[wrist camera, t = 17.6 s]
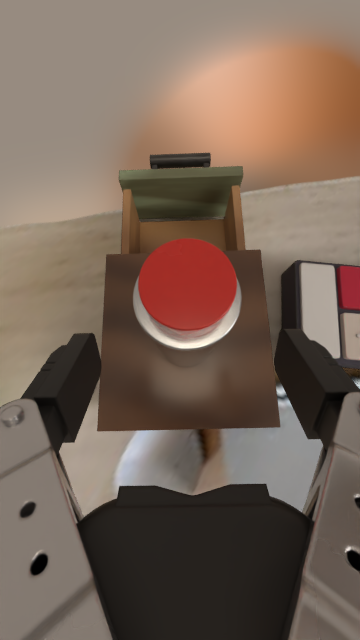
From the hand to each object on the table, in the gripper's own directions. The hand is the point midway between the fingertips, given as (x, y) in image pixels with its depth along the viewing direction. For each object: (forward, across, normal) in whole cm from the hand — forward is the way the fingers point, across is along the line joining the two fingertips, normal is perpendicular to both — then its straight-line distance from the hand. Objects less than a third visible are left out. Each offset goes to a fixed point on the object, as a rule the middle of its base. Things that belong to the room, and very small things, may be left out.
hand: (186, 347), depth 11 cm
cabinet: (+15, 0, +11) cm, 18 cm away
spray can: (+8, 0, +6) cm, 10 cm away
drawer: (+23, 0, +1) cm, 23 cm away
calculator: (+17, -19, +9) cm, 27 cm away
